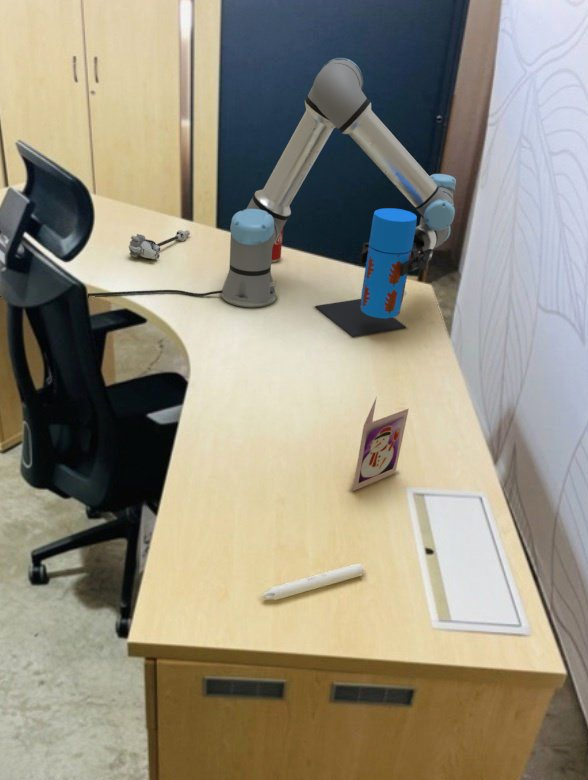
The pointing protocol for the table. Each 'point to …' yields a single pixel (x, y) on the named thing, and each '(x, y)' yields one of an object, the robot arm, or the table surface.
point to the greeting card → (379, 447)
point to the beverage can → (277, 248)
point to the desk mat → (357, 319)
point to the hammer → (151, 245)
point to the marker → (313, 582)
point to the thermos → (387, 262)
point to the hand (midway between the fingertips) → (380, 264)
